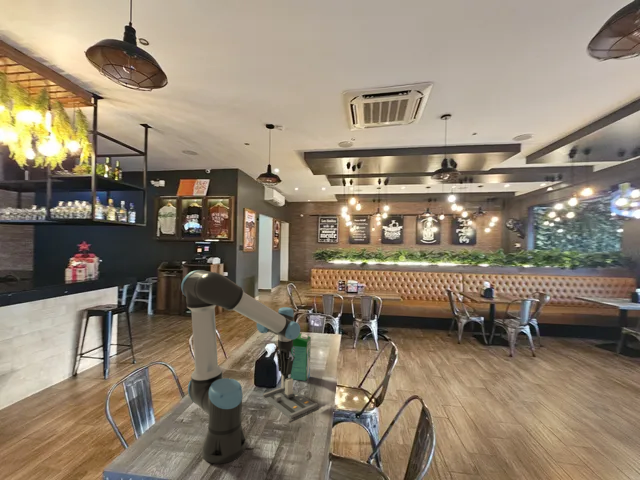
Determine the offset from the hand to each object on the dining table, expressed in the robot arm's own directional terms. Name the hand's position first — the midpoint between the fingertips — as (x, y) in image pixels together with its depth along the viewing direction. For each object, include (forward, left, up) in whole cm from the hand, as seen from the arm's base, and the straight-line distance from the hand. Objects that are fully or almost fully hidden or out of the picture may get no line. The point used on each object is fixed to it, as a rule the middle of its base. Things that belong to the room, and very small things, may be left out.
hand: (284, 387), depth 146 cm
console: (-2, -7, -5) cm, 9 cm away
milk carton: (+18, +11, -5) cm, 22 cm away
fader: (0, -4, -3) cm, 5 cm away
